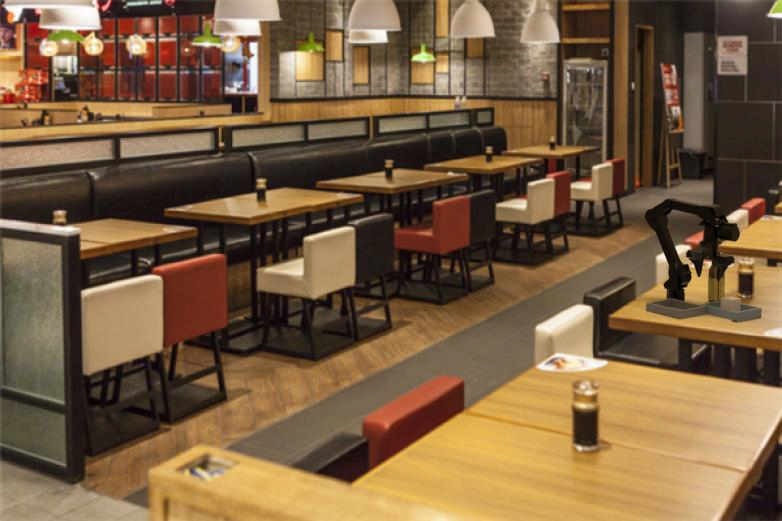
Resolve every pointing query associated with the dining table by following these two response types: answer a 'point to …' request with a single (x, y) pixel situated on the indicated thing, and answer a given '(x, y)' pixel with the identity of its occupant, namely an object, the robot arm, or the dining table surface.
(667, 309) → the bin
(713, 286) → the sauce bottle
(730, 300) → the stone block
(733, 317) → the bin
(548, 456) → the dining table surface
